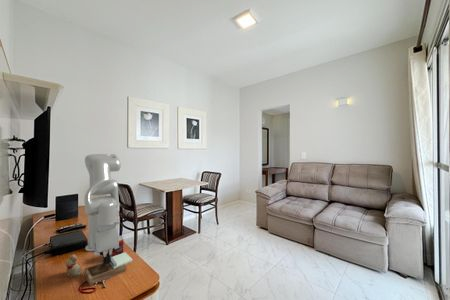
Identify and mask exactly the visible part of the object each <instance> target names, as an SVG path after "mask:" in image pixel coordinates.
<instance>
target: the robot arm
mask: <svg viewBox="0 0 450 300" xmlns="http://www.w3.org/2000/svg"><path fill="white" fill-rule="evenodd" d="M84 164H85V167H86V170H87V172H88V175H89V188H88V189H87V191H86V192H85V195H84V212H85V213H84V214H86V215H87V217H88V242H87V243H88V244H87V245H85V248H84V249H85V251H87V252H94V254H93V255H94V256H102V262H103V263H105V264H106V265H107V264H109V263H110V261H111V254H112V252H113V251H114V250H115V249H117V248H119V236H120V235H119V230H118V229H119V228H118V227H117V226H118V225H120V222H119V221H116V219H117V218H116V217H117V209H118V207H119V184H118V183H119V182H118V181H117V180H116V179H112V177H111V172H119V171H120V169H121V164H122V163H121V161H120V159H119V157H118V156H117V155H116V154H114V153H92V154H88V155H86V156H85V157H84ZM102 195H105V196H102ZM92 196H98V197H93V198H92ZM106 251H107V252H106Z"/></svg>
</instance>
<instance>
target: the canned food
mask: <svg viewBox="0 0 450 300" xmlns="http://www.w3.org/2000/svg"><path fill="white" fill-rule="evenodd" d="M122 253H124V236H123V235H119V248H117V249H115V250H114V251H113V252H112V254H111V257H113V256H116V255H119V254H122Z"/></svg>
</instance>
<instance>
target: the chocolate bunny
mask: <svg viewBox="0 0 450 300" xmlns="http://www.w3.org/2000/svg"><path fill="white" fill-rule="evenodd" d="M77 259H78V257H77V256H76V255H75V254H74V253H73V254H71V256H70V257H69V258H68V259H66V261H65V266H66V270H65V272H67V273H66V275H67V276H68V277H72V278H75V277H79V276H82V272H83V271H82V267H81V266H80V265H79V264H78V263H77Z"/></svg>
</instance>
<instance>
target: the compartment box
mask: <svg viewBox="0 0 450 300" xmlns="http://www.w3.org/2000/svg"><path fill="white" fill-rule="evenodd" d="M126 265H127V264H124V265H122V266H119V267H117V268H113V267H112V265H111V264H110V263H109V264H107V265H106V264H105V263H103V261H102V262H99V263H96V264H94V265H91V266H89V267H85V268H84V277H85V278H86V282H87V283H88V285H89V287H92V286H94V285H95V284H94V283H96V282H98V281H100V280H104V281H106V280H109V279H110V278H113V277H115V276H117V275H120V274H122V273H125V272H127V270H126V269H127V267H126ZM93 284H94V285H93Z"/></svg>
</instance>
